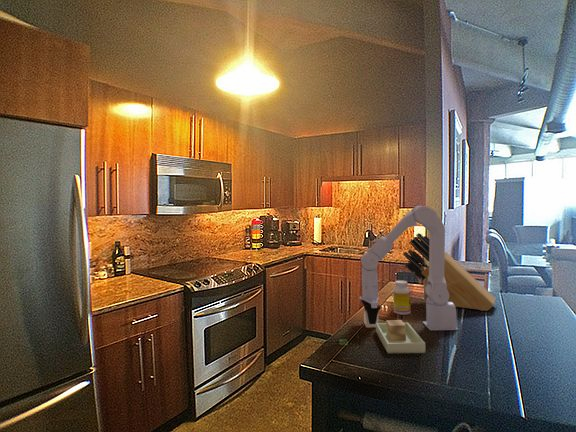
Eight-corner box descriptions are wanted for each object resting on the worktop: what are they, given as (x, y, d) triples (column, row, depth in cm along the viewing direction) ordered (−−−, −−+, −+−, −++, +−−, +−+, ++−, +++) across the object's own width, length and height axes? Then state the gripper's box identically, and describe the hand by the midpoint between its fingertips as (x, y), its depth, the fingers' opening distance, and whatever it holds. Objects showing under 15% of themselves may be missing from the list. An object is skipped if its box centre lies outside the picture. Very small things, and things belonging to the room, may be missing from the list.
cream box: (376, 322, 126) (375, 309, 126) (378, 327, 122) (378, 313, 121) (364, 323, 126) (363, 310, 126) (366, 327, 122) (365, 314, 122)
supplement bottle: (412, 315, 132) (411, 283, 132) (394, 315, 133) (393, 283, 133) (409, 310, 139) (408, 279, 138) (392, 309, 140) (391, 279, 139)
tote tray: (408, 330, 117) (407, 322, 117) (425, 352, 100) (425, 343, 100) (376, 331, 117) (375, 323, 117) (387, 353, 100) (387, 343, 100)
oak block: (401, 334, 113) (401, 319, 113) (406, 340, 108) (405, 325, 108) (386, 334, 113) (386, 320, 113) (390, 340, 108) (389, 325, 108)
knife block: (410, 295, 160) (408, 231, 159) (496, 305, 139) (494, 232, 138) (403, 301, 151) (401, 233, 150) (493, 313, 130) (492, 235, 129)
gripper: (356, 281, 131) (357, 314, 131) (362, 290, 116) (363, 328, 117) (374, 280, 130) (375, 314, 131) (382, 290, 116) (384, 328, 116)
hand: (371, 321), depth 124 cm, fingers closed on cream box, 4 cm apart
